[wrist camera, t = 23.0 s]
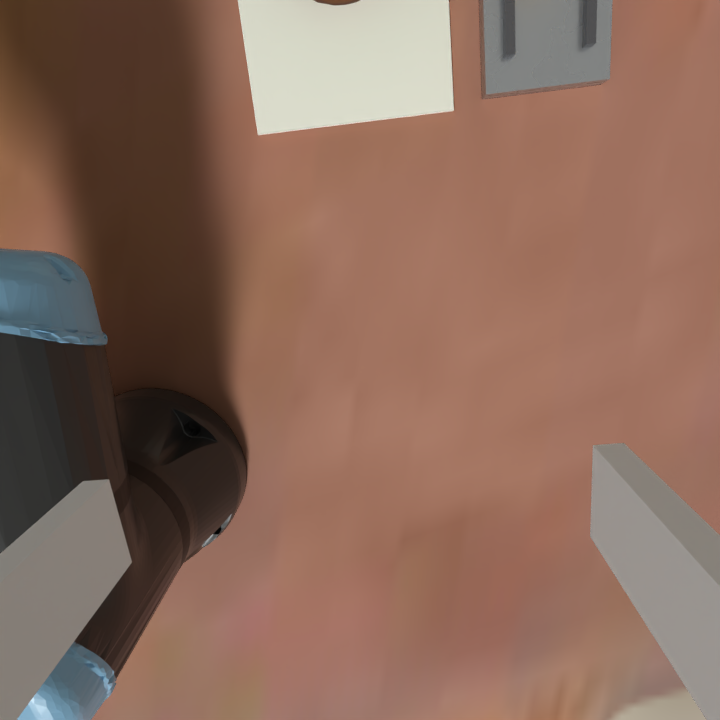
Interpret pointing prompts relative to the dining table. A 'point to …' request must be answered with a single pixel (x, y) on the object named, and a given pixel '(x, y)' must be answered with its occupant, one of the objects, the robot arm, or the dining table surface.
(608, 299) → the dining table surface
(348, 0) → the food container
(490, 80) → the panel
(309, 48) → the mat
